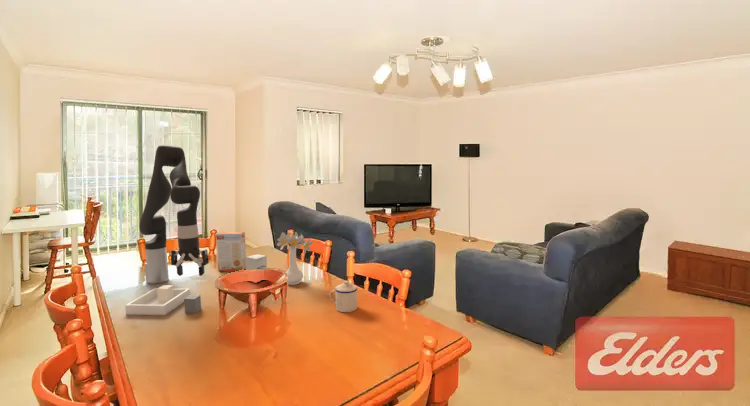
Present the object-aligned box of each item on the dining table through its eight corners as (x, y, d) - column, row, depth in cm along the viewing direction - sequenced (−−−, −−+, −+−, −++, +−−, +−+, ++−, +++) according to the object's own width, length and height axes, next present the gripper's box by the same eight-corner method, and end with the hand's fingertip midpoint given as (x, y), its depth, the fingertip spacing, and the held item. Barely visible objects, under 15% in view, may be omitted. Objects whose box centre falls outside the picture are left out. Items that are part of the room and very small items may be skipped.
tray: (125, 314, 160) (125, 305, 160) (155, 296, 180) (155, 288, 179) (164, 315, 159) (164, 305, 159) (190, 297, 179) (189, 288, 179)
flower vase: (307, 288, 190) (305, 236, 186) (272, 285, 194) (270, 234, 191) (317, 280, 202) (316, 231, 199) (284, 277, 207) (282, 229, 203)
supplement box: (256, 284, 197) (255, 258, 195) (246, 281, 201) (245, 256, 199) (267, 279, 203) (266, 255, 201) (257, 277, 207) (256, 253, 205)
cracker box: (247, 268, 223) (245, 231, 220) (242, 271, 217) (240, 233, 214) (223, 268, 224) (221, 231, 222) (217, 271, 218) (215, 233, 216)
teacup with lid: (360, 305, 168) (360, 278, 166) (352, 314, 159) (352, 285, 158) (334, 302, 172) (333, 276, 170) (325, 310, 163) (324, 282, 162)
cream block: (157, 302, 172) (156, 288, 171) (164, 298, 176) (163, 285, 176) (168, 302, 172) (167, 288, 171) (174, 298, 176) (173, 285, 175)
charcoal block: (185, 313, 162) (184, 298, 161) (190, 308, 166) (189, 294, 165) (195, 313, 161) (194, 298, 161) (201, 308, 166) (200, 294, 165)
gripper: (209, 233, 163) (212, 272, 165) (175, 233, 164) (178, 272, 166) (201, 237, 156) (203, 278, 158) (165, 237, 156) (168, 278, 159)
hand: (190, 275), depth 162 cm, fingers open, 8 cm apart
